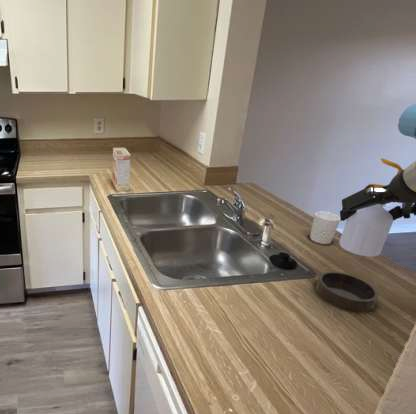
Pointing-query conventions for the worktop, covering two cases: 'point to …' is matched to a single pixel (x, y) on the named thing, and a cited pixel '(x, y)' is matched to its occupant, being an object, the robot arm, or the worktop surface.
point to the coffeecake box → (121, 169)
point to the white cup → (324, 227)
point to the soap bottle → (368, 227)
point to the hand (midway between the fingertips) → (362, 218)
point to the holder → (347, 291)
